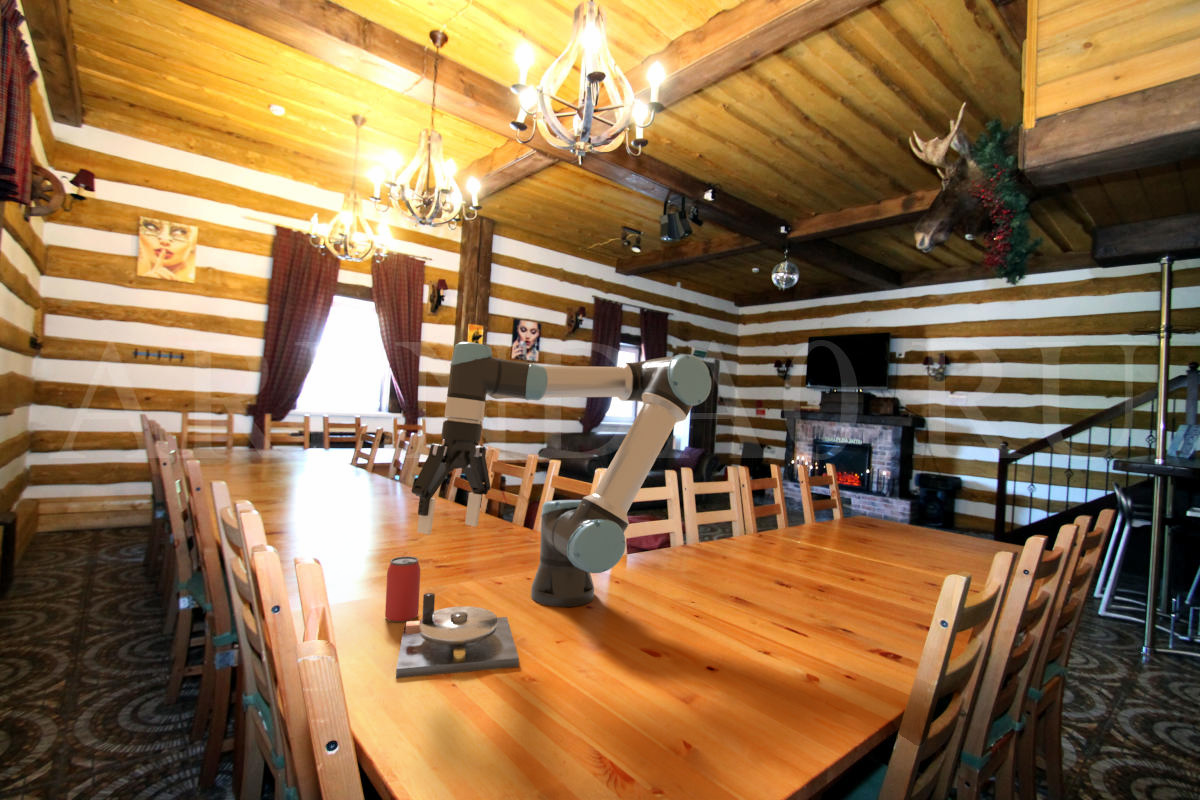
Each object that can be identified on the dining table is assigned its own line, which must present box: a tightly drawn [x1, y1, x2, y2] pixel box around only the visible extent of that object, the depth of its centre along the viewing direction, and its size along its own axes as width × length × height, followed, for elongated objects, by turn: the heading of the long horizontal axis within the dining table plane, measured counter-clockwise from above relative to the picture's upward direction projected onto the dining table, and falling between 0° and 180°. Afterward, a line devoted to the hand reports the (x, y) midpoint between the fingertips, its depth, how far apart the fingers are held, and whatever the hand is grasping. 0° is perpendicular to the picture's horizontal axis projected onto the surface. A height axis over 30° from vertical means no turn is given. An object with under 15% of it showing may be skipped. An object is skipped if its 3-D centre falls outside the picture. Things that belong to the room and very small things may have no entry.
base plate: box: [395, 616, 520, 679], centre depth 100 cm, size 20×19×4 cm
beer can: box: [384, 556, 421, 623], centre depth 114 cm, size 7×7×12 cm
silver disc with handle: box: [405, 592, 497, 645], centre depth 100 cm, size 16×14×6 cm
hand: (448, 529), depth 106 cm, fingers open, 13 cm apart
